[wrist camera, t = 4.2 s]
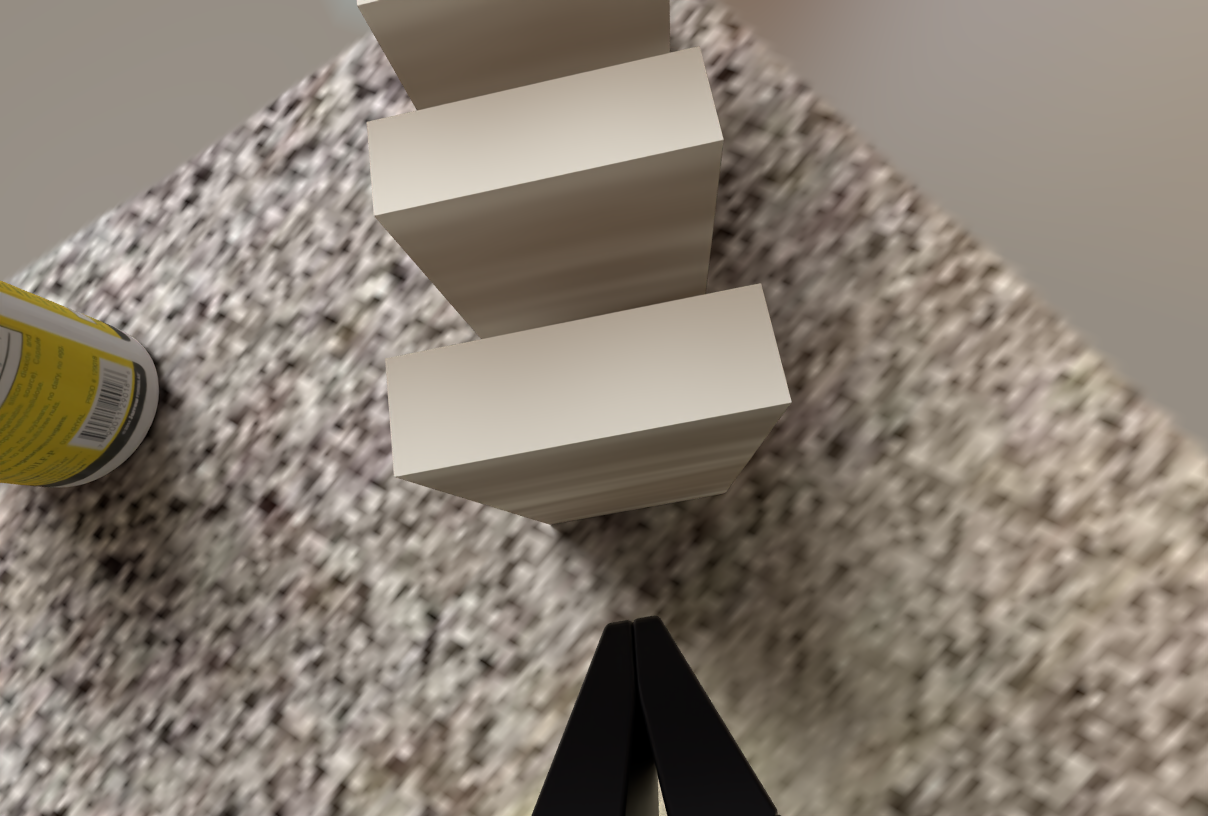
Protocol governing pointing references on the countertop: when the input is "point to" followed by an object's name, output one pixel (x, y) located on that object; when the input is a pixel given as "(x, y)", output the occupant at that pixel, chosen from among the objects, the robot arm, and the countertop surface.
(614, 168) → the domino
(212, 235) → the countertop surface
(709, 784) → the robot arm
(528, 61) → the domino
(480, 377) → the domino
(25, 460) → the supplement bottle
